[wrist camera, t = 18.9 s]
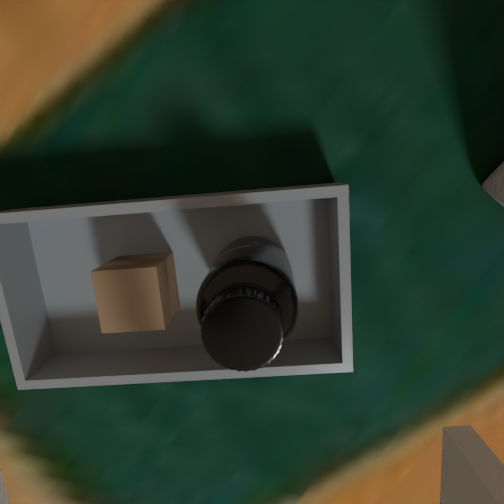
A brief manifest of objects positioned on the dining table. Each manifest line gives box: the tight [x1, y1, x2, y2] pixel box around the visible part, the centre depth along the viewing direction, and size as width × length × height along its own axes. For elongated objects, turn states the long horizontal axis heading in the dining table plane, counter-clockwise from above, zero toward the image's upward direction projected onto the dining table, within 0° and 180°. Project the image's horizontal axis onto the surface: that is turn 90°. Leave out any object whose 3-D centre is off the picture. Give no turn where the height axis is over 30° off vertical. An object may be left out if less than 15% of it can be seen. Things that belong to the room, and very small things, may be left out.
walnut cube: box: [91, 252, 180, 333], centre depth 30 cm, size 5×5×5 cm
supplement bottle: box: [196, 236, 298, 372], centre depth 26 cm, size 7×7×12 cm
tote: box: [0, 183, 353, 390], centre depth 30 cm, size 28×15×5 cm, turn 95°
